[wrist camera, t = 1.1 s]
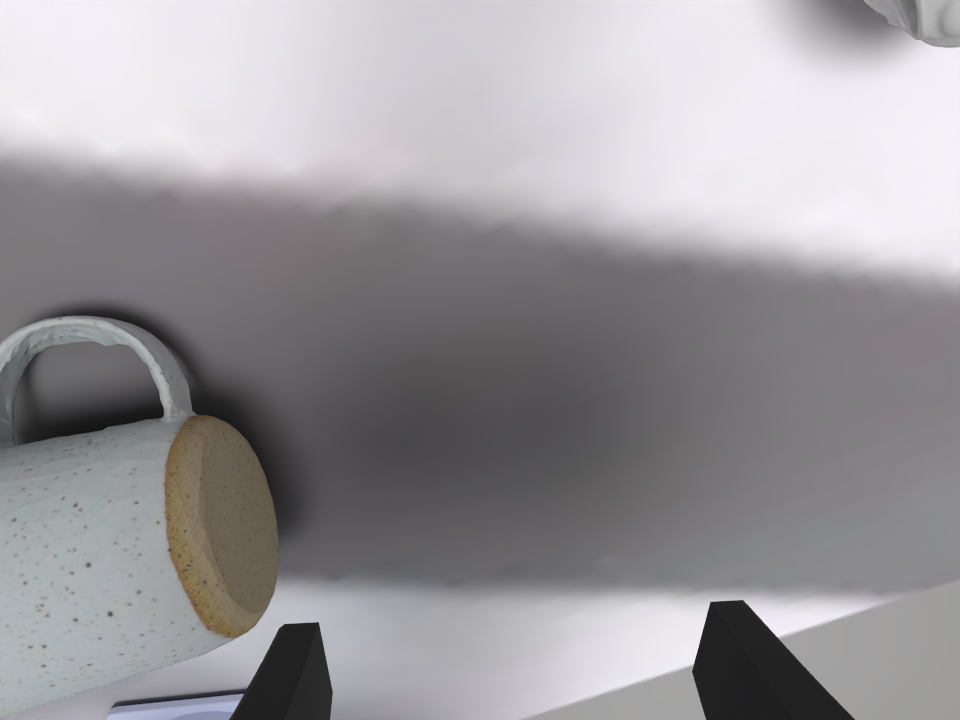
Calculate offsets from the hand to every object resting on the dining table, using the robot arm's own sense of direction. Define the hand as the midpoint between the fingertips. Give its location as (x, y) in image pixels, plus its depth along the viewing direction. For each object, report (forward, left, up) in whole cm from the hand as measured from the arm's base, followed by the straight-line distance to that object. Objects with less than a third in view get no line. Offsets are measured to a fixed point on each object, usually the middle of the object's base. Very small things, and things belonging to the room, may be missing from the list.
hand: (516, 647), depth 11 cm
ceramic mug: (-2, +12, -12) cm, 17 cm away
